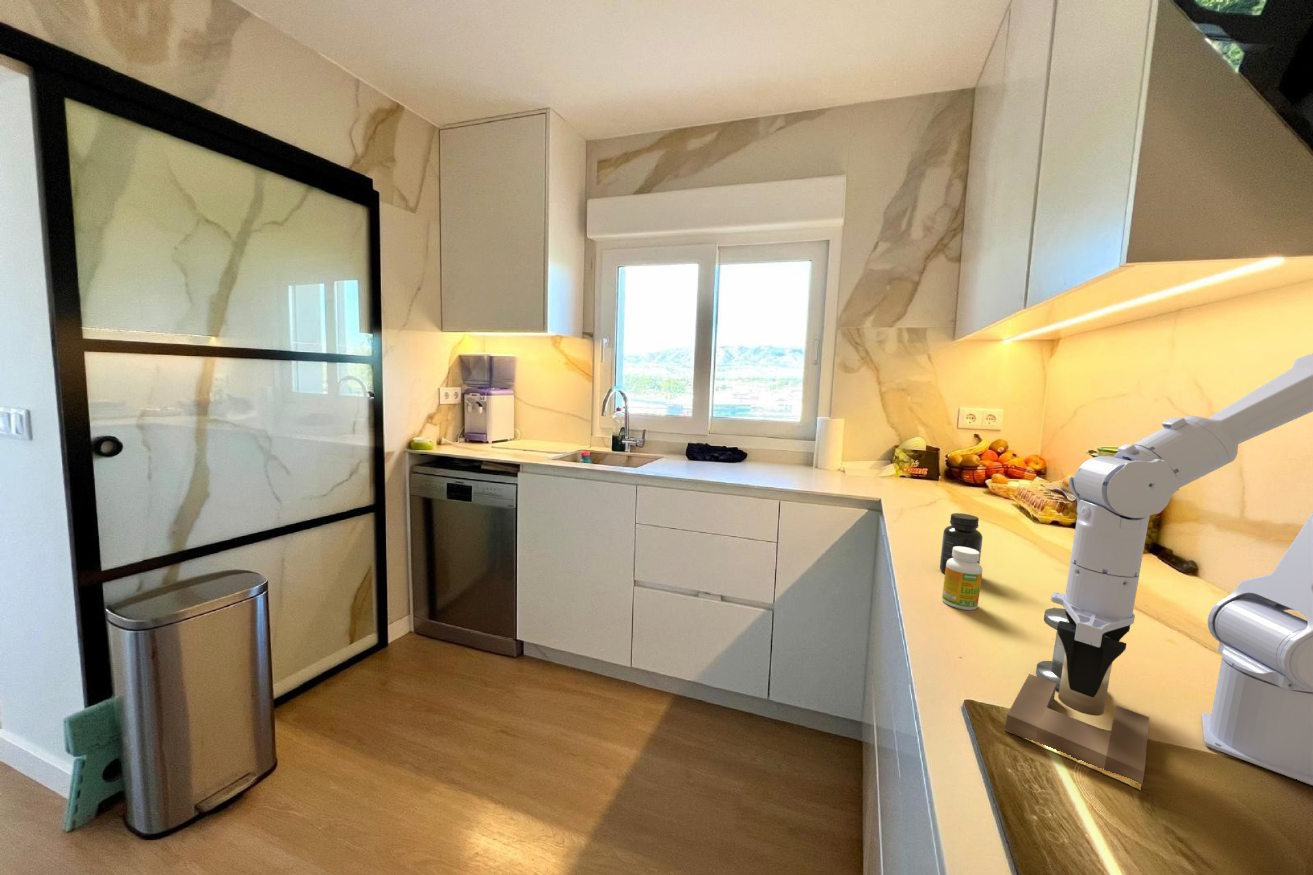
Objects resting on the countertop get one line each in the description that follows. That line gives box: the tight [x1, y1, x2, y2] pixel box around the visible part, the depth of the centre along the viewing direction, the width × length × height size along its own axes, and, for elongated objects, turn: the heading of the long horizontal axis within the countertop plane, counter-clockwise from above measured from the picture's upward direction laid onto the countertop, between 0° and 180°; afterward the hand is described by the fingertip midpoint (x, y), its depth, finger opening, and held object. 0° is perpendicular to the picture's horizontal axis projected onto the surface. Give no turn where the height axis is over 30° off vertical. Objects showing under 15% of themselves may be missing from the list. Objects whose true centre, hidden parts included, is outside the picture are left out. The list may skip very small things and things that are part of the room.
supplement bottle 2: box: [941, 546, 983, 611], centre depth 90 cm, size 5×5×10 cm
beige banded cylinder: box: [1057, 636, 1113, 716], centre depth 58 cm, size 4×4×8 cm
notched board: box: [1004, 673, 1150, 786], centre depth 57 cm, size 11×12×2 cm
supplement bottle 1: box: [939, 512, 983, 575], centre depth 105 cm, size 7×7×12 cm
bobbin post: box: [1035, 607, 1069, 692], centre depth 67 cm, size 7×7×8 cm
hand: (1084, 684), depth 58 cm, fingers closed on beige banded cylinder, 4 cm apart
